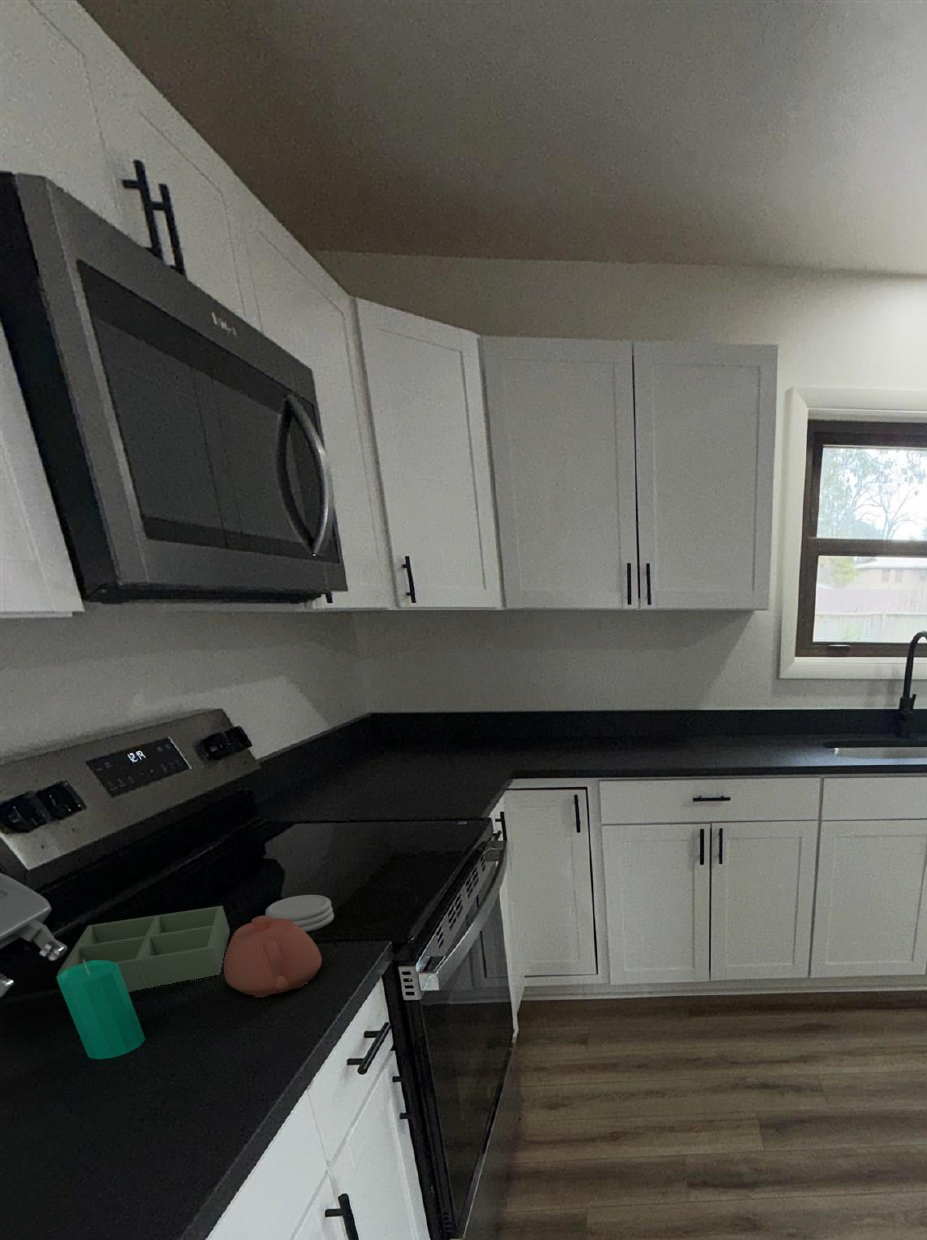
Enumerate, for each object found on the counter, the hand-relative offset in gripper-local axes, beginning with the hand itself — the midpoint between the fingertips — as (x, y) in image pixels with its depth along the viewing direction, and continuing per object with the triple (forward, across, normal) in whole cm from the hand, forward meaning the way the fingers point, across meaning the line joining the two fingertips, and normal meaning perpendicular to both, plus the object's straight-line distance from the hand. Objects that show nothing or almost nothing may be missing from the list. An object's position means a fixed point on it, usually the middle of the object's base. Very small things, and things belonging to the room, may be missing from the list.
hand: (36, 971), depth 87 cm
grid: (+6, +25, +9) cm, 27 cm away
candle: (+12, +1, +4) cm, 12 cm away
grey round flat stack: (+18, +38, -3) cm, 42 cm away
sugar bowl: (+22, +14, -6) cm, 27 cm away
